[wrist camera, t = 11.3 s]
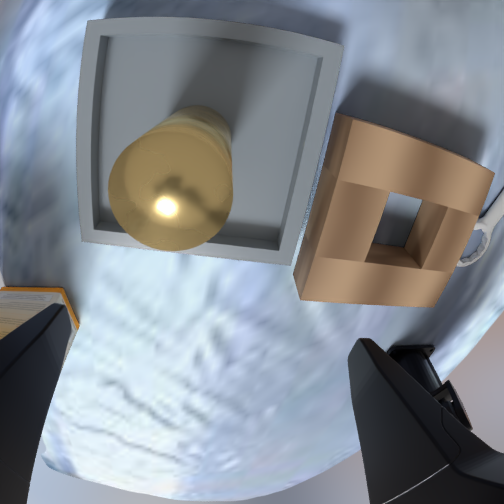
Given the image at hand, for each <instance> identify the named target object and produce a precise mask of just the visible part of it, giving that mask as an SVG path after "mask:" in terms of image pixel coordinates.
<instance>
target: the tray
mask: <svg viewBox="0 0 504 504" xmlns="http://www.w3.org/2000/svg"><path fill="white" fill-rule="evenodd" d="M343 50H344V46H343V45H340V44H337V43H333V42H330V41H326V40H323V39H319V38H315V37H311V36H307V35H303V34H299V33H295V32H290V31H286V30H281V29H276V28H270V27H265V26H259V25H253V24H246V23H239V22H232V21H223V20H213V19H201V18H185V17H126V18H110V19H98V20H89V21H87V26H86V32H85V39H84V45H83V52H82V60H81V69H80V79H79V90H78V105H77V130H76V166H77V191H78V207H79V219H80V230H81V239H82V242H90V243H98V244H106V245H114V246H123V247H131V248H139V249H148V250H156V251H164V250H158V249H154V248H151V247H149V246H146V245H144V244H142V243H140V242H138V241H137V240H135V239H134V238H133V237H131V236H130V235H129V234H128V233H127V232H126V231H125V230H124V229H123V228H122V227H121V226H120V224H119V223H118V221H117V220H116V218H115V216H114V214H113V212H112V209H111V206H110V202H109V197H108V181H109V176H110V173H111V170H112V167H113V165H114V163H115V161H116V159H117V158H118V156H119V155H120V154H121V153H122V151H123V150H124V149H125V148H126V147H127V146H129V145H130V144H131V143H132V142H134V141H135V140H137V139H138V138H139V137H141V136H142V135H143V134H145V133H146V132H148V131H149V130H150V129H152V128H153V127H155V126H156V125H158V124H159V123H160V122H162V121H163V120H165V119H166V118H168V117H169V116H171V115H172V114H174V113H175V112H177V111H178V110H180V109H182V108H185V107H188V106H193V105H201V106H206V107H210V108H212V109H214V110H216V111H217V112H219V113H220V114H221V115H222V116H223V117H224V118H225V120H226V121H227V123H228V125H229V128H230V132H231V148H232V176H233V203H232V207H231V211H230V214H229V216H228V219H227V220H226V222H225V224H224V225H223V227H222V228H221V229H220V231H219V232H218V233H217V234H216V235H215V236H213V237H212V238H211V239H210V240H208V241H207V242H205V243H203V244H202V245H199V246H197V247H194V248H191V249H188V250H182V251H165V252H173V253H182V254H190V255H199V256H208V257H217V258H225V259H234V260H243V261H252V262H261V263H270V264H279V265H289V266H291V263H292V259H293V256H294V252H295V248H296V245H297V241H298V238H299V234H300V230H301V227H302V223H303V219H304V215H305V212H306V208H307V204H308V200H309V196H310V192H311V189H312V185H313V181H314V177H315V173H316V169H317V165H318V161H319V157H320V152H321V148H322V144H323V140H324V136H325V132H326V127H327V123H328V119H329V114H330V110H331V106H332V101H333V97H334V92H335V88H336V83H337V78H338V74H339V69H340V64H341V59H342V55H343Z"/></svg>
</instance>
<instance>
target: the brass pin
mask: <svg viewBox="0 0 504 504" xmlns="http://www.w3.org/2000/svg"><path fill="white" fill-rule="evenodd" d="M108 197H109V202H110V206H111V209H112V212H113V214H114V216H115V218H116V220H117V221H118V223H119V224H120V226H121V227H122V228H123V229H124V230H125V231H126V232H127V233H128V234H129V235H130V236H131V237H133V238H134V239H135V240H137V241H138V242H140V243H142V244H144V245H146V246H149V247H151V248H154V249H158V250H164V251H182V250H188V249H191V248H194V247H197V246H199V245H202V244H203V243H205V242H207V241H208V240H210V239H211V238H212V237H213V236H215V235H216V234H217V233H218V232H219V231H220V229H221V228H222V227H223V225H224V224H225V222H226V220H227V219H228V216H229V214H230V211H231V207H232V203H233V176H232V148H231V132H230V128H229V125H228V123H227V121H226V120H225V118H224V117H223V116H222V115H221V114H220V113H219V112H217V111H216V110H214V109H212V108H210V107H206V106H201V105H193V106H188V107H185V108H182V109H180V110H178V111H177V112H175V113H174V114H172V115H171V116H169V117H168V118H166V119H165V120H163V121H162V122H160V123H159V124H158V125H156V126H155V127H153V128H152V129H150V130H149V131H148V132H146V133H145V134H143V135H142V136H141V137H139V138H138V139H137V140H135V141H134V142H132V143H131V144H130V145H129V146H127V147H126V148H125V149H124V150H123V151H122V153H121V154H120V155H119V156H118V158H117V159H116V161H115V163H114V165H113V167H112V170H111V173H110V176H109V181H108Z"/></svg>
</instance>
